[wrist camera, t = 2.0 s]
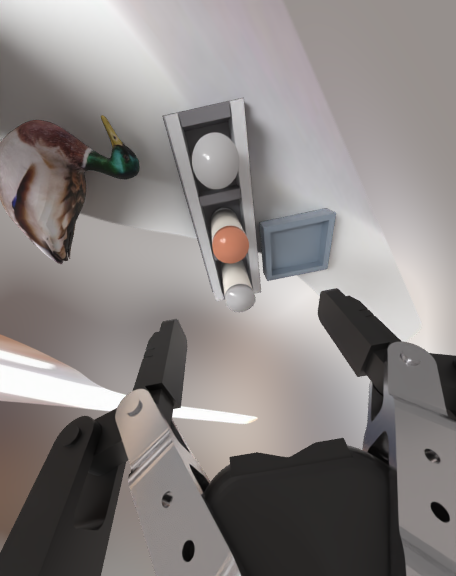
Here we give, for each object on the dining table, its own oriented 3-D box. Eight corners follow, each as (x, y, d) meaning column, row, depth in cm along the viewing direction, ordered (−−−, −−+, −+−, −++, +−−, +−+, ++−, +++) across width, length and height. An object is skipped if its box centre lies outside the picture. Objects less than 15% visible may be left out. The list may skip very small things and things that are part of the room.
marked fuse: (213, 235, 27) (216, 266, 20) (207, 209, 25) (208, 233, 17) (238, 230, 27) (250, 259, 19) (234, 204, 25) (246, 225, 17)
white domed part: (201, 180, 23) (199, 193, 15) (192, 143, 21) (185, 138, 13) (230, 174, 23) (242, 184, 15) (225, 136, 21) (235, 127, 13)
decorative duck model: (121, 109, 15) (151, 274, 23) (139, 125, 21) (158, 251, 29) (-134, 79, 12) (2, 280, 20) (-27, 107, 18) (45, 252, 26)
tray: (263, 272, 33) (267, 280, 31) (259, 222, 28) (263, 227, 25) (319, 261, 32) (327, 268, 30) (326, 208, 27) (336, 212, 25)
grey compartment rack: (212, 288, 34) (213, 304, 30) (164, 117, 20) (155, 109, 17) (258, 278, 33) (265, 293, 30) (241, 100, 20) (249, 88, 16)
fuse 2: (223, 276, 31) (228, 314, 24) (218, 257, 29) (223, 292, 22) (244, 272, 31) (256, 308, 24) (241, 252, 29) (253, 285, 21)
